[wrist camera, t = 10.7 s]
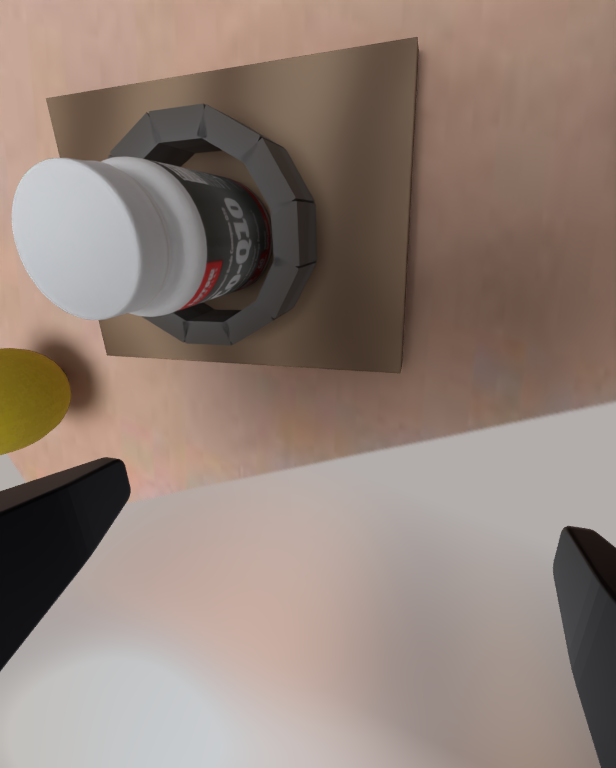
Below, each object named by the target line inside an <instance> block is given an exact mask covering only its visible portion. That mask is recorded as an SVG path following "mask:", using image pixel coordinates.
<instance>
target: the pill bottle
mask: <svg viewBox="0 0 616 768" xmlns="http://www.w3.org/2000/svg"><path fill="white" fill-rule="evenodd" d="M12 228H13V235H14V240H15V243H16V247H17V250H18V253H19V256H20V258H21V260H22V263H23V265H24V267H25V269H26V271H27V273H28V274H29V276H30V277H31V279H32V280H33V282H34V283H35V284H36V286H37V287H38V289H39V290H40V291H41V292H42V293H43V294H44V295H45V296H46V297H47V298H48V299H49V300H50V301H51V302H52V303H54V304H55V305H56V306H58V307H59V308H61V309H62V310H64V311H65V312H67V313H69V314H72V315H74V316H76V317H79V318H83V319H88V320H104V319H109V318H112V317H116V316H119V315H123V314H126V313H130V314H133V315H138V316H145V317H154V316H162V315H167V314H171V313H173V312H176V311H179V310H182V309H185V308H188V307H191V306H194V305H196V304H199V303H202V302H205V301H208V300H211V299H214V298H217V297H220V296H223V295H226V294H229V293H232V292H235V291H238V290H241V289H243V288H245V287H247V286H249V285H251V284H252V283H253V282H255V281H256V280H257V279H258V278H259V277H260V275H261V274H262V273H263V271H264V270H265V268H266V266H267V263H268V261H269V258H270V255H271V250H272V229H271V224H270V220H269V218H268V215H267V212H266V210H265V208H264V206H263V205H262V203H261V202H260V200H259V199H258V198H257V196H256V195H255V194H254V193H253V192H252V191H250V190H249V189H248V188H247V187H245V186H244V185H242V184H241V183H239V182H237V181H235V180H232V179H230V178H226V177H223V176H218V175H214V174H209V173H204V172H200V171H196V170H191V169H186V168H182V167H178V166H174V165H169V164H165V163H160V162H156V161H152V160H148V159H142V158H136V157H113V158H109V159H106V160H103V161H101V162H99V161H91V160H90V161H85V160H77V159H70V158H51V159H47V160H44V161H41V162H40V163H38V164H36V165H34V166H33V167H32V168H31V169H29V170H28V171H27V172H26V173H25V175H24V176H23V178H22V180H21V181H20V182H19V185H18V187H17V189H16V192H15V195H14V200H13V205H12Z"/></svg>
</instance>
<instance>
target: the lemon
mask: <svg viewBox="0 0 616 768" xmlns="http://www.w3.org/2000/svg"><path fill="white" fill-rule="evenodd" d="M70 399H71V389H70V385H69V382H68V379H67V376H66V374H65V373H64V372H63V371H62V369H61V368H60V367H59V366H58V365H57V364H56V363H55V362H53V361H52V360H50V359H49V358H47V357H46V356H44V355H41V354H39V353H36V352H33V351H30V350H24V349H14V348H4V349H0V455H2V454H6V453H9V452H13V451H16V450H19V449H22V448H24V447H26V446H29V445H31V444H33V443H35V442H36V441H38V440H40V439H41V438H43V437H44V436H45V435H47V434H48V433H49V432H50V431H52V430H53V429H54V428H55V427H56V426H57V425H58V424H59V423H60V422H61V421H62V419H63V418H64V416H65V414H66V412H67V410H68V408H69V404H70Z"/></svg>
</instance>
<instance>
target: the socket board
mask: <svg viewBox="0 0 616 768" xmlns="http://www.w3.org/2000/svg"><path fill="white" fill-rule="evenodd" d="M418 53H419V49H418V37H414V38H408V39H402V40H396V41H390V42H384V43H378V44H372V45H366V46H360V47H354V48H348V49H342V50H336V51H330V52H323V53H317V54H311V55H305V56H299V57H293V58H287V59H281V60H275V61H269V62H263V63H257V64H251V65H245V66H239V67H233V68H227V69H221V70H215V71H209V72H202V73H196V74H190V75H184V76H178V77H172V78H166V79H160V80H154V81H148V82H142V83H136V84H130V85H124V86H118V87H112V88H106V89H100V90H94V91H88V92H82V93H75V94H69V95H63V96H57V97H51V98H46V101H47V105H48V109H49V113H50V118H51V122H52V126H53V130H54V134H55V139H56V143H57V147H58V151H59V155H60V158H70V159H77V160H85V161H90V160H91V161H99V162H101V161H103V160H106V159H109V158H113V157H136V158H142V159H148V160H152V161H156V162H160V163H165V164H169V165H174V166H178V167H182V168H186V169H191V170H196V171H200V172H204V173H209V174H214V175H218V176H223V177H226V178H230V179H232V180H235V181H237V182H239V183H241V184H242V185H244V186H245V187H247V188H248V189H249V190H250V191H252V192H253V193H254V194H255V195H256V196H257V198H258V199H259V200H260V202H261V203H262V205H263V206H264V208H265V210H266V212H267V215H268V218H269V220H270V224H271V229H272V250H271V255H270V258H269V261H268V263H267V266H266V268H265V270H264V271H263V273H262V274H261V275H260V277H259V278H258V279H257V280H256V281H255V282H253V283H252V284H251V285H249V286H247V287H245V288H243V289H241V290H238V291H235V292H232V293H229V294H226V295H223V296H220V297H217V298H214V299H211V300H208V301H205V302H202V303H199V304H196V305H194V306H191V307H188V308H185V309H182V310H179V311H176V312H173V313H171V314H167V315H162V316H154V317H145V316H138V315H133V314H130V313H126V314H123V315H119V316H116V317H112V318H109V319H104V320H99V324H100V328H101V332H102V336H103V340H104V345H105V349H106V353H107V355H109V356H125V357H141V358H158V359H174V360H191V361H207V362H223V363H240V364H256V365H273V366H289V367H306V368H322V369H338V370H355V371H371V372H388V373H400V372H401V367H402V356H403V337H404V318H405V299H406V280H407V261H408V242H409V223H410V205H411V186H412V167H413V148H414V129H415V110H416V91H417V72H418Z"/></svg>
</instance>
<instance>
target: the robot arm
mask: <svg viewBox="0 0 616 768" xmlns="http://www.w3.org/2000/svg"><path fill="white" fill-rule="evenodd" d="M130 493H131V488H130V484H129V480H128V476H127V472H126V467H125V464H124V463H123V461H122V460H120V459H115V458H108V457H105V458H101V459H97V460H94V461H91V462H88V463H85V464H82V465H79V466H76V467H73V468H70V469H67V470H64V471H61V472H58V473H55V474H52V475H49V476H46V477H43V478H40V479H36V480H33V481H30V482H27V483H24V484H21V485H18V486H15V487H12V488H9V489H6V490H3V491H0V671H1V670H2V669H3V667H4V666H5V665H6V664H7V662H8V661H9V660H10V658H11V657H12V656H13V655H14V653H15V652H16V651H17V650H18V648H19V647H20V646H21V645H22V643H23V642H24V641H25V639H26V638H27V637H28V636H29V634H30V633H31V632H32V630H33V629H34V628H35V627H36V625H37V624H38V623H39V622H40V620H41V619H42V618H43V617H44V615H45V614H46V613H47V612H48V610H49V609H50V608H51V606H52V605H53V604H54V603H55V601H56V600H57V599H58V597H59V596H60V595H61V594H62V592H63V591H64V590H65V589H66V587H67V586H68V585H69V584H70V582H71V581H72V580H73V578H74V577H75V576H76V575H77V573H78V572H79V571H80V570H81V568H82V567H83V566H84V564H85V563H86V562H87V560H88V559H89V557H90V556H91V555H92V553H93V552H94V551H95V549H96V548H97V546H98V545H99V543H100V542H101V540H102V539H103V537H104V535H105V534H106V533H107V531H108V530H109V528H110V527H111V525H112V523H113V522H114V520H115V519H116V517H117V516H118V514H119V513H120V511H121V510H122V508H123V507H124V505H125V504H126V502H127V501H128V499H129V497H130ZM553 575H554V581H555V586H556V591H557V597H558V602H559V607H560V612H561V617H562V623H563V628H564V633H565V639H566V644H567V649H568V654H569V659H570V664H571V669H572V673H573V675H574V680H575V683H576V687H577V690H578V693H579V697H580V700H581V703H582V707H583V710H584V713H585V717H586V720H587V723H588V726H589V730H590V733H591V736H592V740H593V743H594V746H595V750H596V752H597V756H598V759H599V763H600V766H601V768H616V548H615V547H614V546H613V545H611V544H610V543H609V542H608V541H607V540H606V539H604V538H603V537H602V536H600V535H599V534H598V533H597V532H595V531H594V530H591V529H586V528H579V527H573V526H567V527H564V528H563V530H562V532H561V535H560V539H559V543H558V547H557V551H556V555H555V559H554V564H553Z"/></svg>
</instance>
